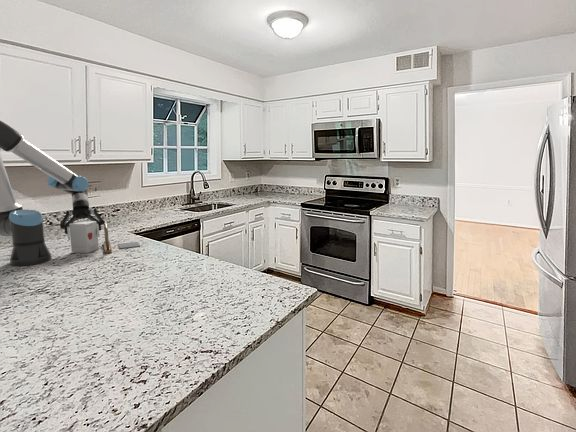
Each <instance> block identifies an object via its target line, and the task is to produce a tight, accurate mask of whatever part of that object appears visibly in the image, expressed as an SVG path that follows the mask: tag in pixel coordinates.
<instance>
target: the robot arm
mask: <svg viewBox="0 0 576 432" xmlns="http://www.w3.org/2000/svg"><path fill="white" fill-rule="evenodd" d="M1 151H5V152H7V153H10V152H11V153H13V154H14V155H15V156H17V157H18V158H20V159H22V160H24V161H25V162H27V163H28V164H30V165H32V166H33V167H34V168H36V169H37V170H40V171H41V172H42V173H44V174H46V175H47V176H48V177H47V181H46V184H47V185H48V186H49V187H51V188H53V189H57V190H59V191H63V192H65V193H67V194H71V201H72V211H69V210H66V211H65V214H64V217H63V218H62V221H61V222H60V224H59V227H60V229H63V230H64V234H65V235H67V239H68V241H71V238H70V227H69V224H71V223H75V221H77V220H81V219H84V220H85V219H88V220H89V221H96V222H97V233H98V238H100V237H101V235H100V234H101V233H100V232H101V231H102V225H103V226H104V221H105V220H104V219H103V218H102V216H101V215H100V214H99V212H98V211H97V208H93V209H90V203H89V201H90V200H89V195H88V188H89V181H88V179H87V178H86V177H84V176H81V175H77V174H76V173H75V172H73V171H72V170H70V169H68V168H67V167H65V166H64V165H63V164H61V163H60V162H58V161H57V160H56V159H54V158H53V157H52V156H50V155H48V154H47V153H45V152H44V151H42V149H39V148H37V146H35V145H33V144H32V143H30V142H29V141H28V140H26V139H25V138H24V136H23V134H22V133H20V132H18V131H17V130H16V129H15V128H13V127H11V126H10V125H8V124H7V123H5V122H4V121H2V120H0V152H1ZM1 154H2V153H0V235H2V236H4V237H5V236H6V237H11V238H12V239H11V240H12V241H11V242H12V250H11V254H10V257H9V262H10V266H14V267H16V266H17V267H21V266H31V265H38V264H42V263H46V262H48V261H50V260H51V259H52V254H51V252H50V250H49V248H48V246H47V244H46V241H45V239H46V238H45V233H44V223H43V221H44V220H43V217H42V216H43V215H42V212H40V211H39V210H36V209H23V205H21V204H20V203H18V202H17V201H16V197H15V195H14V191H13V188H12V185H11V183H10V179H9V175H8V173H7V170H6V167H5V164H4V160H3V157H2V155H1ZM92 215H94V216H95V217H94V216H92ZM71 216H72V217H71ZM70 217H71V218H70Z"/></svg>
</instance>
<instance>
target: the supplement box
mask: <svg viewBox="0 0 576 432" xmlns="http://www.w3.org/2000/svg"><path fill="white" fill-rule="evenodd" d="M69 231H70V247H71V253H76V254H77V253H78V254H80V253H81V254H89V253H91V252H94V251H97V250H99V246H100V245H99V237H98V232H97V222H96V221H91V220H79V221H76V222H75V221H74V222H73V223H71V224H69Z"/></svg>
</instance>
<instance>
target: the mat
mask: <svg viewBox="0 0 576 432" xmlns="http://www.w3.org/2000/svg"><path fill="white" fill-rule="evenodd" d="M139 247H141V244H140V243H139V241H132V242H131V241H130V242H124V243H122V242H121V243H118V248H119V249H120V250H122V249H132V248H133V249H134V248H139Z"/></svg>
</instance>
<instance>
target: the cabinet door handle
mask: <svg viewBox="0 0 576 432" xmlns="http://www.w3.org/2000/svg"><path fill="white" fill-rule="evenodd" d="M103 228H104V229H103V231H104V241H103V250H104V254H112V253H113V251H112V246H111V243H110V242H111V241H110V240H109V231H108V223H107V221H106V220H104V225H103Z"/></svg>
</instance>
